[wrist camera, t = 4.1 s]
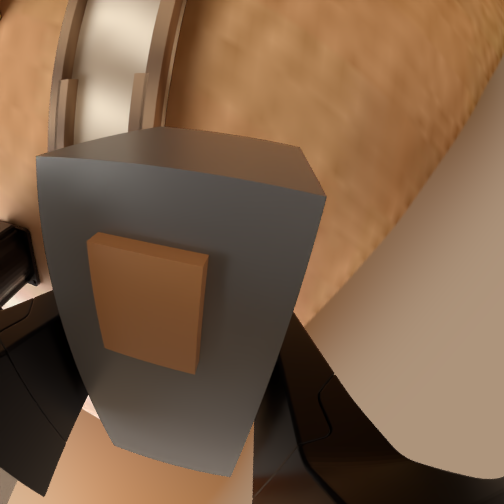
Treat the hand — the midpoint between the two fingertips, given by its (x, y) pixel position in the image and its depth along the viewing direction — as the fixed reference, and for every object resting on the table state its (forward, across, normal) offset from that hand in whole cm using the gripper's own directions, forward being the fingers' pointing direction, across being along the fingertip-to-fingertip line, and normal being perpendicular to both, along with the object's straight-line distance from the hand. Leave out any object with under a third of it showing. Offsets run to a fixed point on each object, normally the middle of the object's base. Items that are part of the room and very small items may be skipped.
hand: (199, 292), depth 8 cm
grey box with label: (+1, 0, 0) cm, 1 cm away
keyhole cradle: (+11, +10, -7) cm, 17 cm away
